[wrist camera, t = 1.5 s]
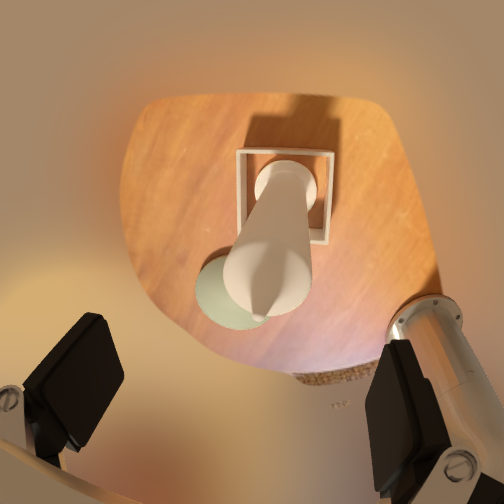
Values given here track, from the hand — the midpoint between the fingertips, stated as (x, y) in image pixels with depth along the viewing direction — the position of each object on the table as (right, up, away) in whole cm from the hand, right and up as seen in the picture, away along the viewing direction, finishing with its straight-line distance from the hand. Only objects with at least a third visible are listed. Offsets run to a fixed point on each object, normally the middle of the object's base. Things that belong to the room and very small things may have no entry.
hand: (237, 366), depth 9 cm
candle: (+4, +11, +26) cm, 28 cm away
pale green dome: (-2, -2, +32) cm, 32 cm away
